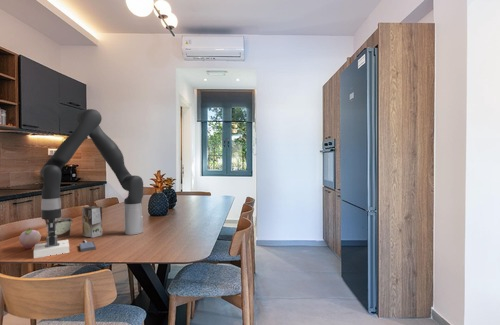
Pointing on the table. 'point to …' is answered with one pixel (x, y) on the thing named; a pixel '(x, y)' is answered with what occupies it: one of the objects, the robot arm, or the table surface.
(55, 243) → the charger
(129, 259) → the table surface
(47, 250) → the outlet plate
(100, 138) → the robot arm
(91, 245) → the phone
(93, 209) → the coffee box
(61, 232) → the food container
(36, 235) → the decorative fruit
